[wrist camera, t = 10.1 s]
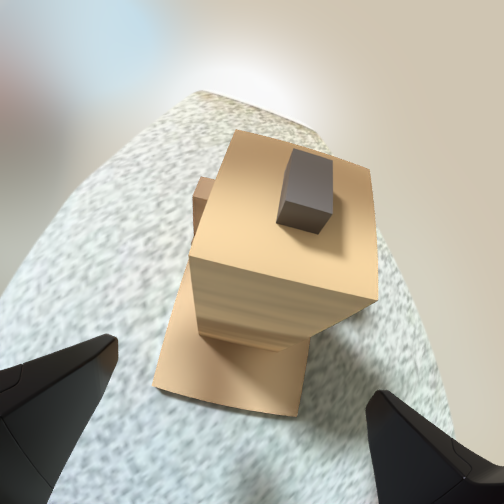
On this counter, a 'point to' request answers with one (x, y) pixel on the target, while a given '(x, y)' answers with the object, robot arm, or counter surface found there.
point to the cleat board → (225, 356)
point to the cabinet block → (283, 245)
